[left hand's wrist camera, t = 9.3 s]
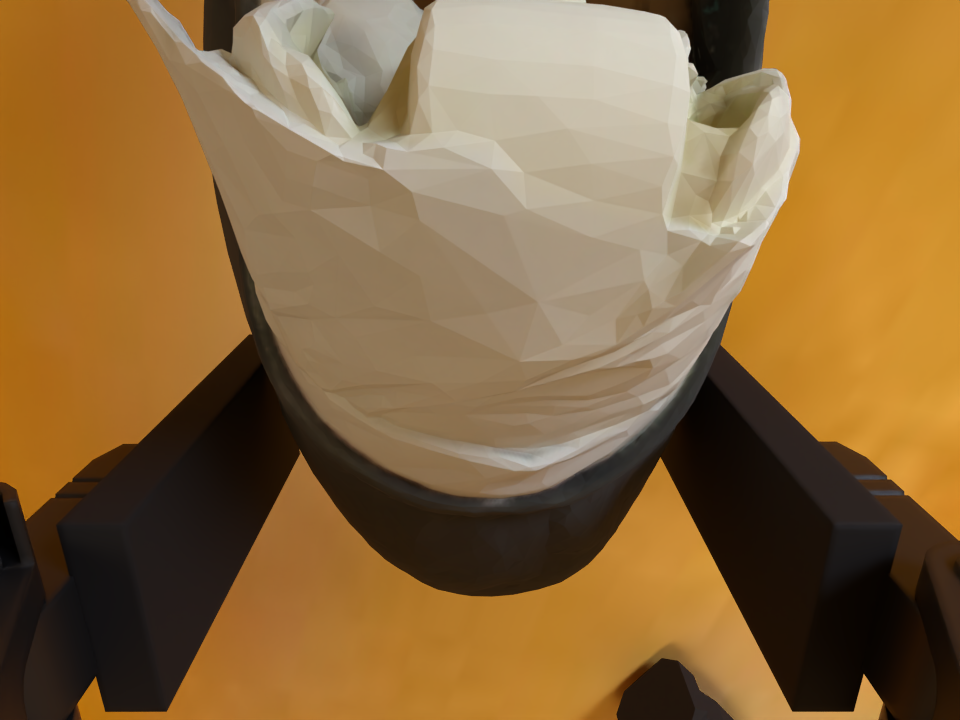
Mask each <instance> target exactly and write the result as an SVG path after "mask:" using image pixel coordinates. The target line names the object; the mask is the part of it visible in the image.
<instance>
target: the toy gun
mask: <svg viewBox="0 0 960 720" xmlns="http://www.w3.org/2000/svg"><path fill="white" fill-rule="evenodd" d="M617 718H618V720H733V719H732V718H731V717H730V716H729V714H728V713H727V712H726V711H725V710H724V709H723V708H722V707H721V706H720V705H719V704H718V703H717V702H716V701H714V700H713V699H711V698H710V697H708V696H707V695H705V694H704V693H702V692H701V691H699V688H698V686H697V683H696V680H695V678H694V676H693V675H692V674H691V673H690V672H689V671H688V670H687V669H686V668H685V667H684V666H683V665H682V664H681V663H680V662H678V661H676V660H669V659H663V658H662V659H660V660H659V661H658V662H657V663H656V664H655V665H654V666H652V667H651V668H650V669H649V670H648V671H647V672H646V673H644V674H643V675H642V676H641V677H640V678H639V679H638V680H637V681H635V682H634V683H633V684H632V685H631V686H630V687H629V688H627V689H626V690H625V691H624V693H623V696H622V699H621V702H620V705H619V708H618V711H617Z"/></svg>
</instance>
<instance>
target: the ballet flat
mask: <svg viewBox="0 0 960 720" xmlns="http://www.w3.org/2000/svg"><path fill="white" fill-rule="evenodd" d="M127 1H128V3H129V4H130V5H131V7H132V8H133V10H134V12H135V13H136V15H137V17H138V18H139V20H140V22H141V23H142V25H143V27H144V28H145V30H146V32H147V33H148V35H149V36H150V38H151V40H152V41H153V43H154V45H155V46H156V48H157V50H158V52H159V54H160V56H161V58H162V60H163V62H164V64H165V66H166V68H167V70H168V72H169V74H170V76H171V78H172V80H173V82H174V84H175V86H176V88H177V89H178V91H179V93H180V95H181V97H182V100H183V102H184V105H185V107H186V109H187V112H188V114H189V117H190V119H191V122H192V124H193V127H194V129H195V132H196V134H197V137H198V139H199V142H200V144H201V147H202V149H203V152H204V154H205V156H206V159H207V161H208V164H209V166H210V169H211V171H212V175H213V182H214V188H215V194H216V200H217V205H218V210H219V214H220V219H221V223H222V228H223V232H224V237H225V242H226V246H227V251H228V255H229V258H230V262H231V265H232V269H233V272H234V276H235V279H236V283H237V287H238V290H239V294H240V297H241V301H242V304H243V308H244V311H245V315H246V318H247V321H248V324H249V327H250V329H251V332H252V335H253V338H254V342H255V345H256V348H257V351H258V355H259V357H260V359H261V362H262V364H263V366H264V369H265V371H266V373H267V375H268V377H269V380H270V382H271V384H272V385H273V387H274V390H275V392H276V395H277V397H278V401H279V404H280V408H281V411H282V415H283V417H284V419H285V421H286V423H287V425H288V427H289V429H290V432H291V434H292V436H293V438H294V440H295V442H296V444H297V445H298V447H299V449H300V451H301V452H302V454H303V456H304V458H305V459H306V461H307V463H308V465H309V467H310V468H311V470H312V472H313V474H314V475H315V476H316V478H317V479H318V481H319V482H320V484H321V485H322V486H323V488H324V489H325V491H326V492H327V494H328V495H329V496H330V498H331V499H332V501H333V502H334V504H335V505H336V507H337V508H338V509H339V510H340V512H341V513H342V514H343V516H344V517H345V518H346V519H347V521H348V522H349V523H350V524H351V525H352V526H353V527H354V528H355V529H356V530H357V531H358V533H359V534H360V535H361V536H362V537H363V538H364V539H365V540H366V541H367V543H368V544H369V545H370V546H371V547H372V548H373V549H374V550H376V551H377V552H378V553H379V554H380V555H381V556H382V557H383V558H384V559H385V560H387V561H388V562H390V563H391V564H393V565H394V566H396V567H397V568H399V569H401V570H403V571H404V572H406V573H408V574H409V575H411V576H413V577H414V578H416V579H417V580H419V581H421V582H422V583H424V584H427V585H429V586H431V587H433V588H436V589H438V590H443V591H447V592H452V593H456V594H462V595H468V596H502V595H513V594H518V593H523V592H528V591H532V590H537V589H541V588H544V587H547V586H551V585H554V584H557V583H560V582H562V581H564V580H565V579H567V578H569V577H570V576H572V575H573V574H575V573H576V572H578V571H579V570H581V569H582V568H584V567H585V566H586V565H588V564H589V563H590V562H591V561H592V560H593V559H594V558H595V556H596V555H597V554H598V553H599V552H600V551H601V550H602V549H603V548H604V546H605V545H606V543H607V542H608V541H609V539H610V538H611V537H612V536H613V534H614V533H615V532H616V530H617V528H618V526H619V525H620V523H621V522H622V520H623V519H624V517H625V516H626V514H627V513H628V511H629V509H630V508H631V506H632V504H633V503H634V501H635V500H636V498H637V497H638V495H639V494H640V492H641V490H642V488H643V487H644V485H645V483H646V481H647V479H648V477H649V476H650V474H651V473H652V471H653V469H654V467H655V466H656V464H657V462H658V460H659V458H660V457H661V455H662V453H663V452H664V450H665V449H666V447H667V445H668V444H669V442H670V440H671V437H672V435H673V433H674V431H675V428H676V425H677V424H678V423H679V422H680V421H681V419H682V418H683V417H684V416H685V414H686V413H687V411H688V409H689V408H690V406H691V405H692V403H693V402H694V400H695V398H696V396H697V394H698V392H699V390H700V388H701V386H702V384H703V382H704V380H705V378H706V376H707V374H708V372H709V369H710V367H711V365H712V362H713V360H714V358H715V356H716V353H717V351H718V349H719V346H720V343H721V340H722V336H723V333H724V330H725V326H726V323H727V319H728V316H729V312H730V309H731V306H732V301H733V300H734V298H735V297H736V296H737V295H738V294H739V292H740V291H741V289H742V287H743V285H744V283H745V281H746V278H747V276H748V274H749V272H750V270H751V268H752V265H753V263H754V260H755V258H756V255H757V253H758V250H759V248H760V245H761V243H762V241H763V239H764V237H765V235H766V233H767V231H768V230H769V228H770V226H771V224H772V222H773V220H774V219H775V217H776V215H777V213H778V211H779V209H780V207H781V206H782V204H783V203H784V201H785V200H786V197H787V190H788V183H789V180H790V177H791V174H792V172H793V169H794V166H795V163H796V161H797V158H798V155H799V148H800V137H799V135H798V133H797V131H796V128H795V126H794V124H793V121H792V119H791V97H790V93H789V89H788V85H787V81H786V78H785V77H784V75H783V74H782V73H781V72H780V71H778V70H777V69H761V68H762V60H763V47H764V37H765V31H766V25H767V19H768V13H769V0H204V32H203V51H199V50H198V49H196V48H195V46H194V44H193V42H192V40H191V39H190V37H189V36H188V34H187V32H186V31H185V29H184V27H183V26H182V24H181V23H180V21H179V20H178V19H177V18H175V17H174V16H173V15H172V14H170V13H169V12H168V11H167V10H166V9H165V8H164V7H163V6H162V5H161V3H160V2H159V1H158V0H127Z"/></svg>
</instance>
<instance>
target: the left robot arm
mask: <svg viewBox="0 0 960 720" xmlns="http://www.w3.org/2000/svg"><path fill="white" fill-rule="evenodd" d="M299 455H300V452H299V447H298V445H297V444H296V442H295V440H294V438H293V436H292V434H291V432H290V429H289V427H288V425H287V423H286V421H285V419H284V417H283V415H282V411H281V408H280V404H279V401H278V397H277V395H276V392H275V390H274V387H273V385H272V384H271V382H270V380H269V377H268V375H267V373H266V371H265V369H264V366H263V364H262V362H261V359H260V357H259V355H258V351H257V348H256V345H255V342H254V338H253V335H252V334H249V335H248V336H247V337H246V338H245V339H244V340H243V341H242V342H241V343H240V344H239V345H238V346H237V347H236V348H235V349H234V350H233V351H232V352H231V353H230V354H229V355H228V356H227V357H226V358H225V359H224V360H223V361H222V362H221V363H220V364H219V365H218V366H217V367H216V368H215V369H214V370H213V371H212V372H211V373H210V374H209V375H208V376H207V377H206V378H205V379H204V380H203V381H202V382H200V383H199V384H198V385H197V386H196V387H195V388H194V389H193V390H192V391H191V392H190V393H189V394H188V395H187V396H186V397H185V398H184V399H183V400H182V401H181V402H180V403H179V404H178V405H177V406H176V407H175V408H174V409H173V410H172V411H171V412H170V413H169V414H168V415H167V416H166V417H165V418H164V419H163V420H162V421H161V422H160V423H159V424H158V425H157V426H156V427H155V428H154V429H153V430H152V431H151V432H150V433H149V434H148V435H147V436H146V437H145V438H144V439H143V440H142V441H141V442H140V443H139V444H122V445H121V446H119V447H117V448H115V449H113V450H111V451H109V452H107V453H105V454H103V455H101V456H100V457H98V458H96V459H94V460H92V461H91V462H90V463H89V464H88V465H87V466H86V467H85V468H84V469H83V470H81V471H80V472H79V473H78V474H77V475H76V476H75V477H74V478H73V481H72V482H68V483H67V484H66V485H65V486H64V487H63V488H62V489H61V490H59V491H58V492H57V493H56V494H55V495H56V496H55V498H51V499H50V500H48V501H47V502H46V503H45V504H44V505H43V506H42V507H41V508H40V509H39V510H38V511H36V512H35V513H34V514H33V515H32V516H31V517H30V518H29V519H28V520H27V521H25V519H24V515H23V512H22V508H21V505H20V501H19V498H18V494H17V491H16V489H14V488H13V487H11V486H10V485H8V484H6V483H2V482H0V720H81V716H80V713H79V709H78V706H77V703H78V702H79V700H80V699H81V697H82V696H83V694H84V693H85V691H86V690H87V688H88V687H89V685H90V684H91V682H92V681H93V680H94V678H95V677H96V678H97V682H98V686H99V690H100V693H101V697H102V701H103V705H104V708H105V712H167V710H168V708H169V706H170V704H171V702H172V700H173V698H174V696H175V694H176V692H177V690H178V689H179V687H180V685H181V683H182V681H183V679H184V677H185V675H186V673H187V671H188V669H189V667H190V665H191V663H192V662H193V660H194V658H195V656H196V654H197V652H198V650H199V648H200V646H201V644H202V642H203V640H204V638H205V636H206V634H207V633H208V631H209V629H210V627H211V625H212V623H213V621H214V619H215V617H216V615H217V613H218V611H219V609H220V607H221V605H222V604H223V602H224V600H225V598H226V596H227V594H228V592H229V590H230V588H231V586H232V584H233V582H234V580H235V578H236V576H237V575H238V573H239V571H240V569H241V567H242V565H243V563H244V561H245V559H246V557H247V555H248V553H249V551H250V549H251V548H252V546H253V544H254V542H255V540H256V538H257V536H258V534H259V532H260V530H261V528H262V526H263V524H264V522H265V520H266V519H267V517H268V515H269V513H270V511H271V509H272V507H273V505H274V503H275V501H276V499H277V497H278V495H279V493H280V491H281V490H282V488H283V486H284V484H285V482H286V480H287V478H288V476H289V474H290V472H291V470H292V468H293V466H294V464H295V463H296V461H297V459H298V457H299ZM661 459H662V460H663V462H664V464H665V466H666V468H667V470H668V472H669V474H670V476H671V478H672V480H673V482H674V484H675V486H676V488H677V489H678V491H679V493H680V495H681V497H682V499H683V501H684V503H685V505H686V507H687V509H688V511H689V513H690V515H691V516H692V518H693V520H694V522H695V524H696V526H697V528H698V530H699V532H700V534H701V536H702V538H703V540H704V542H705V544H706V545H707V547H708V549H709V551H710V553H711V555H712V557H713V559H714V561H715V563H716V565H717V567H718V569H719V571H720V573H721V574H722V576H723V578H724V580H725V582H726V584H727V586H728V588H729V590H730V592H731V594H732V596H733V598H734V600H735V602H736V603H737V605H738V607H739V609H740V611H741V613H742V615H743V617H744V619H745V621H746V623H747V625H748V627H749V629H750V631H751V632H752V634H753V636H754V638H755V640H756V642H757V644H758V646H759V648H760V650H761V652H762V654H763V656H764V658H765V660H766V661H767V663H768V665H769V667H770V669H771V671H772V673H773V675H774V677H775V679H776V681H777V683H778V685H779V687H780V689H781V690H782V692H783V694H784V696H785V698H786V700H787V702H788V704H789V706H790V708H791V710H792V712H854V708H855V704H856V701H857V697H858V693H859V689H860V685H861V682H862V678H863V674H865V676H866V677H867V679H868V680H869V682H870V683H871V685H872V686H873V688H874V689H875V691H876V692H877V694H878V695H879V697H880V698H881V699H882V701H883V706H882V709H881V713H880V716H879V720H960V541H958V540H957V539H956V538H955V537H954V536H953V535H952V534H951V533H949V532H948V531H947V530H946V529H945V528H944V527H943V526H942V525H941V524H939V523H938V522H937V521H936V520H935V519H934V518H933V517H932V516H931V515H930V514H928V513H927V512H926V511H925V510H924V509H923V508H922V507H921V506H920V505H918V504H917V503H916V502H915V501H914V500H913V499H912V498H911V497H910V496H908V495H904V491H903V490H902V489H901V488H900V487H899V486H897V485H896V484H895V483H894V482H893V481H892V480H887V476H886V475H885V474H884V473H883V472H882V471H881V470H880V469H879V468H878V467H876V466H875V465H874V464H873V463H872V462H871V461H870V460H869V459H868V458H866V457H865V456H863V455H861V454H859V453H857V452H855V451H853V450H851V449H849V448H847V447H845V446H843V445H841V444H840V443H838V442H818V441H817V440H816V439H815V438H814V437H813V436H812V435H811V434H810V433H809V432H808V431H807V430H806V429H805V428H804V427H803V426H802V425H801V424H800V423H799V422H798V421H797V420H796V419H795V418H794V417H793V416H792V415H791V414H790V413H789V412H788V411H787V410H786V409H785V408H784V407H783V406H782V405H781V404H780V403H779V402H778V401H777V400H776V399H775V398H774V397H773V396H772V395H771V394H770V393H769V392H768V391H767V390H766V389H765V388H764V387H763V386H762V385H761V384H759V383H758V382H757V381H756V380H755V379H754V378H753V377H752V376H751V375H750V374H749V373H748V372H747V371H746V370H745V369H744V368H743V367H742V366H741V365H740V364H739V363H738V362H737V361H736V360H735V359H734V358H733V357H732V356H731V355H730V354H729V353H728V352H727V351H726V350H725V349H724V348H723V347H722V346H721V345H720V346H719V349H718V351H717V353H716V356H715V358H714V360H713V362H712V365H711V367H710V369H709V372H708V374H707V376H706V378H705V380H704V382H703V384H702V386H701V388H700V390H699V392H698V394H697V396H696V398H695V400H694V402H693V403H692V405H691V406H690V408H689V409H688V411H687V413H686V414H685V416H684V417H683V418H682V419H681V421H680V422H679V423H678V424H677V425H676V428H675V431H674V433H673V435H672V437H671V440H670V442H669V444H668V445H667V447H666V449H665V450H664V452H663V453H662V455H661Z"/></svg>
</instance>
